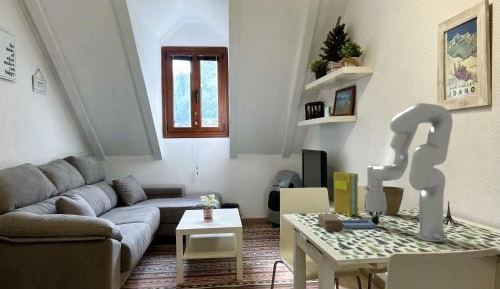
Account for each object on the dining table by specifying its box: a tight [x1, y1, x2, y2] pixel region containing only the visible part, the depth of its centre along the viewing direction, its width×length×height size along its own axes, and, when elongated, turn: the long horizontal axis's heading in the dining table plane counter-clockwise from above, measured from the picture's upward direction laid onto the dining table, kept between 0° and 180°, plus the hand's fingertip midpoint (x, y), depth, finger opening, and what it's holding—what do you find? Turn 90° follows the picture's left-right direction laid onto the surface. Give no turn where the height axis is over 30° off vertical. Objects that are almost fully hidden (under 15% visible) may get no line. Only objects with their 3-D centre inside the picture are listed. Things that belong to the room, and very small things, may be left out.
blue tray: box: [340, 219, 378, 230], centre depth 173 cm, size 11×16×2 cm
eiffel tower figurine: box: [444, 200, 457, 226], centre depth 178 cm, size 15×10×13 cm
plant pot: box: [383, 185, 405, 217], centre depth 202 cm, size 15×15×16 cm
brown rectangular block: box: [317, 213, 343, 232], centre depth 173 cm, size 16×8×5 cm, turn 2°
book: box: [333, 171, 359, 217], centre depth 204 cm, size 17×7×25 cm, turn 22°
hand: (375, 224), depth 173 cm, fingers closed
